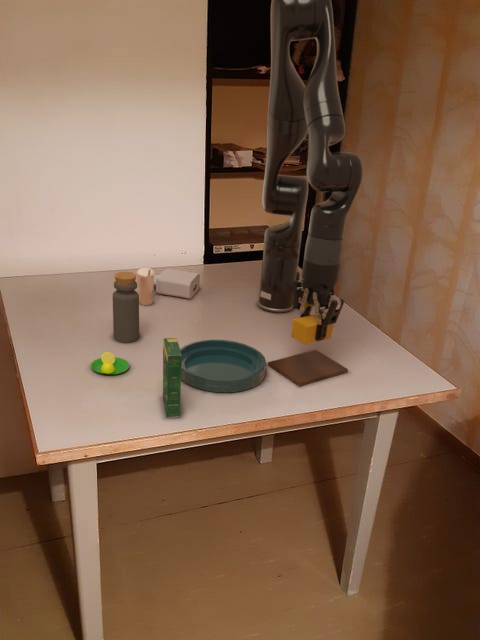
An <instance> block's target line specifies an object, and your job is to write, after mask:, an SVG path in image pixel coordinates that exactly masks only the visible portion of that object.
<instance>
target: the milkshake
mask: <svg viewBox="0 0 480 640" xmlns="http://www.w3.org/2000/svg"><path fill="white" fill-rule="evenodd" d="M155 274H156V272H155V271H154V269H153V268H150V267H141V268H139V269H138V270H136V279H137V288H138V294H139V305H142V306H151V305H152V304H153V302H154V290H155V289H154V287H155V285H154V279H155Z"/></svg>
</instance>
